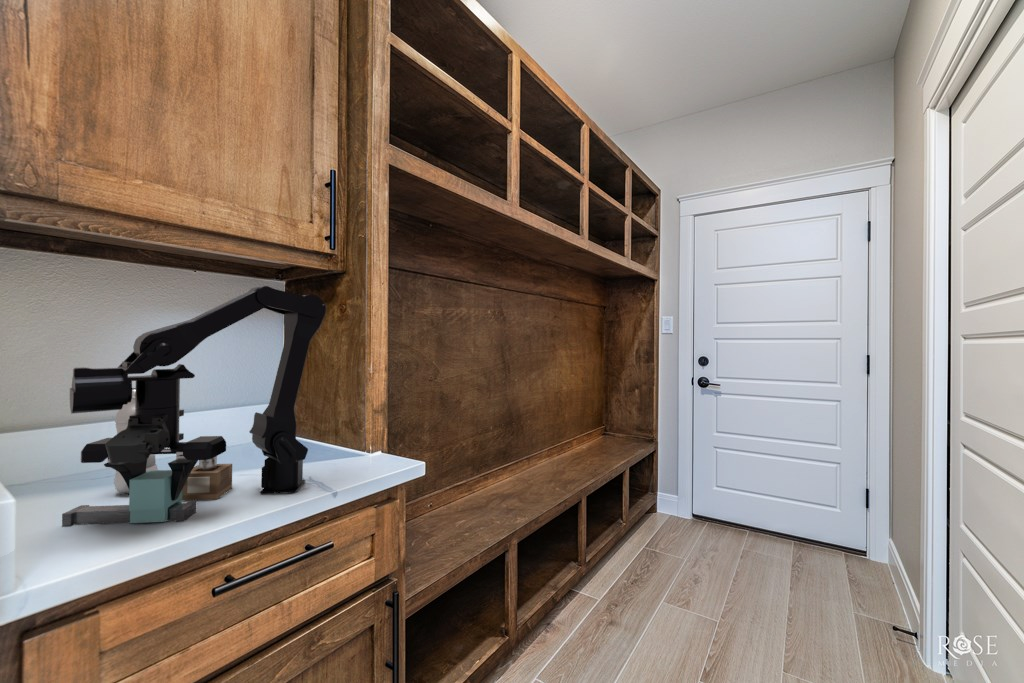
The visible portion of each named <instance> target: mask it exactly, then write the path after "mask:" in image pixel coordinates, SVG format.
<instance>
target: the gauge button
mask: <svg viewBox="0 0 1024 683" xmlns="http://www.w3.org/2000/svg"><path fill="white" fill-rule="evenodd" d="M217 461H218V456H216V457H214V458H212V459H208V460H198V465H199V471H214V470H215V469H217V464H218V462H217Z"/></svg>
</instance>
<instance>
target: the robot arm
mask: <svg viewBox="0 0 1024 683" xmlns="http://www.w3.org/2000/svg"><path fill="white" fill-rule="evenodd" d="M262 309H265V310H267V311H271V312H274V313H277V314H279V315H283V325H284V330H285V331H284V333H285V339H284V344H283V348H282V351H281V356H280V359H279V363H278V367H277V371H276V376H275V379H274V383H273V388H272V392H271V395H270V398H269V403H268V406H267V407H266V408H265V409H264V411H263V412H262V413H261V412H255V413H254V415H253V423H252V427H251V429H249V434H251V435H252V437H251V440H252V443H253V444H254V445H255V447H256V448H258V449H260V450H261V452H262V455H263V456H264V457H267V458H265V459H264V465H263V466H262V467H261V489H260V495H267V494H293V493H297V492H298V491H299V490H300V488H302V486H304V484H305V483H306V480H305V479H304V478H303V474H304V472H303V470H304V469H303V466H304V460H306V457H307V454H308V451H309V448H308V447H306V446H305V445H304V444H303V443H301V442H300V441H299V440H297V429H298V428H297V426H298V425H297V420H296V418H297V417H296V412H295V406H296V403H297V398H298V393H299V389H300V387H301V386H300V385H301V382H302V377H303V373H304V368H305V364H306V361H307V357H308V352H309V348H310V344H311V342H312V339H313V338H314V336H315V334H317V332H318V331H319V329H320V327H321V326H322V324H323V322H324V318H325V316H326V314H327V304H325V301H324V300H323V299H322V298H321V297H319V295H318V296H317V295H315V294H304V295H300V294H298V293H293V292H289V291H283V290H281V289H276V288H274V287H271V286H268V285H259V286H255V287H251V288H250V290H248V291H247V292H244V293H243V294H241V295H238V296H237V297H234V298H232V299H230V300H228V301H225V302H224V303H222V304H220V305H218V306H216V307H213V308H211V309H209V310H208V311H205V312H203V313H201V314H199V315H197V316H195V317H192V318H190V319H187V320H185V321H182V322H178V323H173V324H170V325H166V326H163V327H160V328H156V329H152V330H150V331H146V332H144V333H142V334H141V335H139V336H137V337H136V339H135V340H134V343H133V346H132V347H133V351H132V352H131V353H130V354H129V355H128V356H127V357H126V358H125V359H124V361H123V360H122V361H121V363H120V364H119V366H117V367H103V368H102V367H101V368H98V367H97V368H96V367H95V368H92V367H91V368H90V367H73V369H72V378H71V379H72V380H71V387H70V388H69V409H70V414H71V415H72V414H73V415H74V414H85V413H86V414H87V413H95V412H96V413H97V412H106V411H107V412H108V411H110V412H111V411H118V410H121V409H122V407H123V405H124V404H128V403H129V402H131V400H132V388H133V382H134V381H135V388H136V392H135V415H131V416H129V419H128V426H127V429H125V430H123V431H121V432H119V433H118V434H117V433H116V435H114V436H113V437H106V438H102V439H99V440H96V441H93V442H89V443H86V444H85V445H84V446H83V448H82V449H81V451H80V463H81V464H91V463H93V464H96V463H103V462H105V461H106V460H107V462H106V463H103V466H104V467H105V468H111V469H113V470H115V472H116V471H118V472H119V473H120V474H121V476H122V477H123V479H124V480H125V482H126V484H127V486H128V488H129V489H130V480H131V479H133V478H135V477H137V476H139V475H142V474H144V473H146V466H147V459H148V458H149V456H150V454H155V455H175V454H176V456H175V457H176V458H175V459H174V460H172V461H170V462H168V463H167V465H168V467H169V468H170V470H172V480H171V499H172V501H174V500H176V499H178V497H179V495H180V493H181V491H182V489H183V487H184V485H185V483H186V481H187V478H188V477H189V475H190V473H191V471H192V469H193V468H194V467H195V466H197V465H196V464H197V463H198V462H199V460H208V459H212V458H214V457H216V456H217V457H218V456H220V455H222V454H223V453H225V452H226V451H227V441H226V439H225V438H224V437H223V435H212V436H211V435H209V436H208V435H206V436H205V435H204V436H202V435H201V436H198V437H196V438H193V439H192V440H188V441H182V440H184V439H185V438H184V433H183V432H181V433H180V417H184V415H185V409H181V408H180V406H181V405H180V402H181V401H180V400H181V397H180V395H181V394H180V393H181V389H180V388H181V380H182V379H194V378H195V377H196V376H195V373H193V372H191V371H190V370H189V369H188V368H187V367H186V366H185V364H181V363H178V362H179V361H180V360H181V359H183V358H184V357H185V356H186V355H188V354H189V353H191V352H192V351H193V350H194V349H195V348H197V347H198V346H199V345H200V344H201V343H202V342H203V341H205V340H206V339H207V338H209V337H211V336H213V335H215V334H216V333H218V332H220V331H222V330H225V329H226V328H229V327H230V326H232V325H235V324H236V323H238V322H240V321H242V320H245V319H246V318H248V317H249V316H251V315H253V314H255V313H257V312H259V311H261V310H262ZM176 363H178V364H177V365H176V366H175V367H174V368H161V369H160V368H159V369H157V368H156V367H168V366H171V365H174V364H176ZM155 368H156V369H155ZM151 370H152V371H151ZM149 371H151V374H149V375H142V374H146V373H147V372H149ZM139 374H140V375H139ZM129 375H131V376H129ZM132 375H133V376H132Z"/></svg>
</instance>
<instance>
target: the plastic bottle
mask: <svg viewBox="0 0 1024 683" xmlns="http://www.w3.org/2000/svg"><path fill="white" fill-rule="evenodd" d="M135 392H136V387H132V400H131V402H129V403H128V404H124V405H123V407H122V409H121V410H117V412H116V413H115V417H114V422H115V429H116V435H117V434H118V433H119V432H121V431H123V430H125V429H127V426H128V419H129V416H131V415H135ZM158 469H159V468H158V465H157V462H156V454H150V456H149V458H148V459H147V466H146V472H148V471H152V470H158ZM113 484H114V487H115V490H116V491H117V492H118V493H119V494H129V488H128V486H127V484H126V482H125V480H124V479H123V477H122V476H121V474H120V473H119V472H118V471H116V470H115V474H114V479H113Z"/></svg>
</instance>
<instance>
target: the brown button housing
mask: <svg viewBox="0 0 1024 683" xmlns="http://www.w3.org/2000/svg"><path fill="white" fill-rule="evenodd" d="M231 490H233V463H217V469H215V470H214V471H199V464H198V465H195V466H194V468H193V469H192V471H191V473H190V475H189V477H188V478H187V481H186V483H185V485H184V487H183V489H182V499H181V502H182V501H183V502H186V501H187V502H191V501H214V500H215V501H217V500H218V499H220V498H221V497H222V496H224V495H225V494H227V493H228V492H229V491H231ZM226 492H227V493H226ZM219 497H220V498H219Z"/></svg>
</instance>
